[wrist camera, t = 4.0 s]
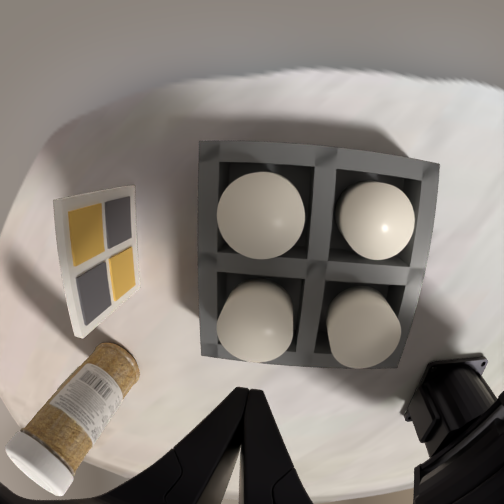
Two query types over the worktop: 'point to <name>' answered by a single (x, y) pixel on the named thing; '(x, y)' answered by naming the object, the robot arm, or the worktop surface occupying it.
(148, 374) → the worktop surface
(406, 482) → the worktop surface
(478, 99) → the worktop surface
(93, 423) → the sprinkles bottle
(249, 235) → the button
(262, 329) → the button
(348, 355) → the button
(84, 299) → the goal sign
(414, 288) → the button board
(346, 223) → the button
